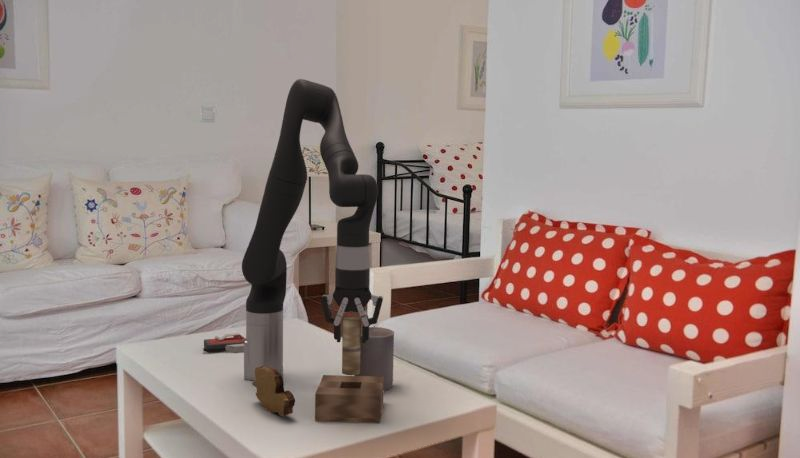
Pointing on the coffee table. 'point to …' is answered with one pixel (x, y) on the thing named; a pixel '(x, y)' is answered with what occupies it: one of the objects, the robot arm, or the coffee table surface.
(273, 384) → the wooden carving
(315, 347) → the coffee table surface
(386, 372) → the pillar candle
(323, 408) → the socket block
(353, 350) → the peg
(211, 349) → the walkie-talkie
